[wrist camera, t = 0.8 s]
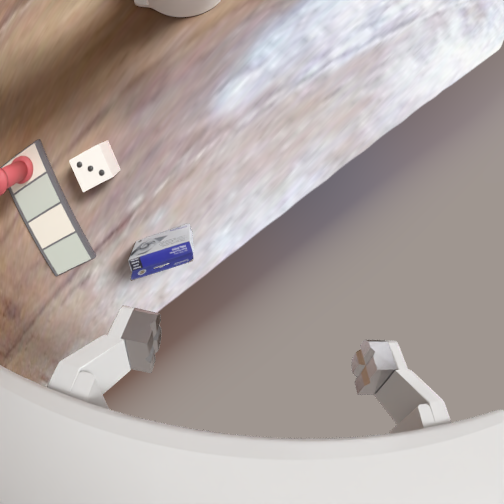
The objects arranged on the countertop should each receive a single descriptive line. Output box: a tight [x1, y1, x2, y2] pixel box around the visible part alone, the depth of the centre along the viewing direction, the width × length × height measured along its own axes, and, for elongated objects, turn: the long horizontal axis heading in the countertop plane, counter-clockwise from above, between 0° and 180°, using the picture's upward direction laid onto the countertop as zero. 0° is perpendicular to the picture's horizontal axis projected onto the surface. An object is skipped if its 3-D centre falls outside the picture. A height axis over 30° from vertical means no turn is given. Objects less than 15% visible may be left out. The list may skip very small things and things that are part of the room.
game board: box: [1, 139, 96, 276], centre depth 47 cm, size 26×11×1 cm, turn 18°
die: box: [69, 140, 121, 192], centre depth 44 cm, size 6×6×6 cm
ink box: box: [128, 224, 193, 281], centre depth 50 cm, size 12×2×12 cm, turn 103°
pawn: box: [0, 156, 33, 195], centre depth 37 cm, size 5×5×10 cm
